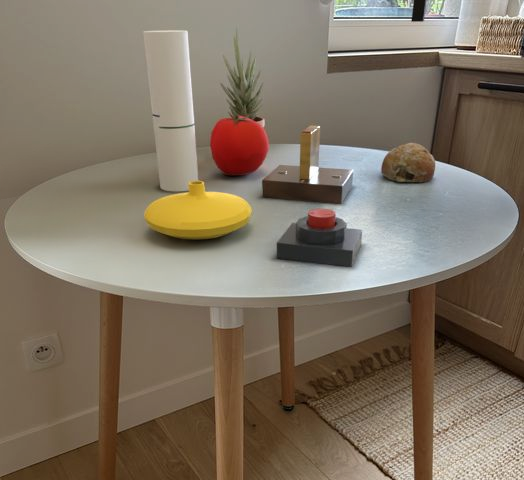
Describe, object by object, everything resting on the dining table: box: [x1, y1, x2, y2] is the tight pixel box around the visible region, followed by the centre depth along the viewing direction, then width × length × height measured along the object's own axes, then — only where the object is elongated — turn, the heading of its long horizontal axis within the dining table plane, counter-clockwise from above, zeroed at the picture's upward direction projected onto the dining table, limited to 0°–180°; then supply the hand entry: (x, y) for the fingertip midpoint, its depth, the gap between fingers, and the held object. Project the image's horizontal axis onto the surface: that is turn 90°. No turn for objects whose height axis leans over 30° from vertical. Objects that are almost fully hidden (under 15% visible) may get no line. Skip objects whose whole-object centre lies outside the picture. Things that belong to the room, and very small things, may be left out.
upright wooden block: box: [299, 125, 321, 180], centre depth 94 cm, size 7×2×8 cm, turn 163°
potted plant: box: [220, 27, 266, 128], centre depth 116 cm, size 10×10×25 cm
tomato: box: [209, 111, 270, 176], centre depth 105 cm, size 12×12×11 cm
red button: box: [307, 208, 337, 229], centre depth 71 cm, size 4×4×2 cm
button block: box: [276, 215, 363, 267], centre depth 73 cm, size 10×8×4 cm
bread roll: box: [380, 142, 436, 183], centre depth 104 cm, size 10×10×8 cm
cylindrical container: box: [142, 29, 199, 193], centre depth 95 cm, size 7×7×25 cm
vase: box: [143, 180, 253, 241], centre depth 79 cm, size 16×16×7 cm
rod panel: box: [261, 164, 354, 205], centre depth 97 cm, size 14×11×3 cm
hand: (417, 21), depth 73 cm, fingers closed
